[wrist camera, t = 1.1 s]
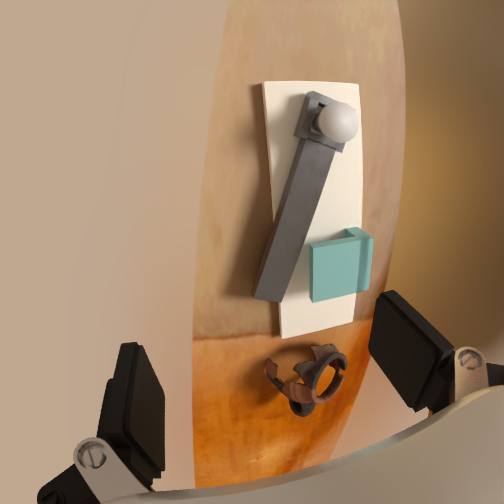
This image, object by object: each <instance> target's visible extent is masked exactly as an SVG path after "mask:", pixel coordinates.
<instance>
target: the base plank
mask: <svg viewBox="0 0 504 504" xmlns="http://www.w3.org/2000/svg"><path fill="white" fill-rule="evenodd" d="M261 84H262V94H263V104H264V115H265V125H266V136H267V148H268V160H269V172H270V184H271V197H272V211H273V222H274V219H275V216H276V213H277V210H278V206H279V203H280V200H281V197H282V194H283V191H284V188H285V185H286V182H287V179H288V175H289V172H290V169H291V166H292V163H293V160H294V157H295V153H296V150H297V147H298V144H299V141H300V138H297V137H295V136H293V135H294V132H295V129H296V126H297V122H298V119H299V116H300V113H301V110H302V106H303V103H304V100H305V97H306V94H307V92H310V91H315V92H318V93H320V94H322V95H325V96H327V97H329V98H332V99H334V100H336V101H338V102H334V103H330V104H328V105H326V106H325V107H324V108H323V107H321V106H318V107H317V110H316V113H315V116H314V120H313V123H312V126H311V129H310V131H311V132H314V133H316V134H319V135H321V136H324V137H327V138H328V139H329V140H331V141H334V142H340V143H343V142H346V143H345V146H344V149H343V152H342V153H340V152H335V154H334V157H333V160H332V163H331V167H330V170H329V173H328V176H327V179H326V182H325V185H324V188H323V190H322V193H321V196H320V199H319V202H318V205H317V208H316V211H315V214H314V216H313V219H312V222H311V225H310V228H309V230H308V233H307V236H306V239H305V242H304V244H303V247H302V250H301V252H300V255H299V258H298V260H297V263H296V266H295V268H294V271H293V274H292V276H291V279H290V282H289V284H288V287H287V289H286V292H285V294H284V297H283V300H282V302H281V303H280V302H278V305H279V325H280V335H281V338H282V339H285V338H289V337H294V336H298V335H302V334H306V333H311V332H315V331H319V330H323V329H327V328H331V327H334V326H338V325H342V324H346V323H349V322H353V314H354V306H355V298H356V293H354V294H349V295H345V296H341V297H337V298H333V299H328V300H324V301H320V302H315V303H312V301H311V300H310V298H309V244H312V243H318V242H324V241H330V240H336V239H342V238H345V228H351V227H359V228H360V229H361V222H362V179H363V173H362V130H361V112H360V98H359V86H358V84H351V83H338V82H317V81H269V82H263V83H261ZM354 109H355V110H354Z"/></svg>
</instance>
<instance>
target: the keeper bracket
mask: <svg viewBox="0 0 504 504" xmlns="http://www.w3.org/2000/svg"><path fill="white" fill-rule="evenodd" d="M373 239H374V238H373V237H372V236H370V235H369V234H367V233H366V232H365V231H363V230H362V229H360V228H359V227H351V228H345V238H342V239H336V240H330V241H324V242H318V243H312V244H309V298H310V300H311V301H312V303H315V302H320V301H324V300H328V299H333V298H337V297H341V296H345V295H349V294H354V293H358V292H362V291H366V290H368V288H369V280H370V271H371V261H372V251H373Z"/></svg>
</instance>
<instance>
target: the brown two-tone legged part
mask: <svg viewBox="0 0 504 504" xmlns="http://www.w3.org/2000/svg"><path fill="white" fill-rule="evenodd" d="M310 349H311V350H312V352H313V356H314V359H315V361H306V362H303V363H298V364H296V365H295V366H294V367H293V370H294V371H296V372H297V373H299V376H300V377H301V378H302V380H303V381H304V383H305V384H301V383H296V382H294V381H285V383H283V381H282V380H281V379H277V378H276V373H277V367H278V365H277V364H276V363H274V362H272V360H271V359H269V358H268V359H267V361H266V374H267V376H268V378H269V379H270V380H271V381H272V382H273V383H274V384H275V385H276V386H277V387H278V389H279V390H280V391H281V392H282V393H283V394H284V395H285V396H286V397H287V398H289V404H290V407H291V409H292V411H293V412H294V414H296V415H298V416H300V417H306V416H307V415H309V414H311V413H312V411H313V409H314V407H315V404H323V403H325V402H327V401H329V400H330V399H331V398H332V397H333V396H334V395H335V394H336V393H337V391H338V390H339V388H340V386H341V385H342V383H343V381H344V378H345V377H344V376H343V375H341V374H340V371H341V369H342V370H346V367H347V359H346V356H345V355H344V354H342V353H339V351H338V349H337V348H336V346H335V345H333V344H325V345H323V346H320V347H317V346H310ZM328 364H329V366H331V367H333V368H334V369H335V370H336V372H335V375H334V377H333V380H332V382H331V384H330V385H329V386H328V387H327V389H326V390H325V391H324V392H323V393H322V394H321V395H320V396H317V395H316V386H317V382H318V379H319V377H320V375H321V373H322V372H323V370H324V368H325V367H326V366H327V365H328Z"/></svg>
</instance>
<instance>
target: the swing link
mask: <svg viewBox="0 0 504 504" xmlns="http://www.w3.org/2000/svg"><path fill="white" fill-rule="evenodd" d="M334 102H338V101H336V100H334V99H332V98H329V97H327V96H325V95H322V94H320V93H318V92H315V91H310V92H307V94H306V97H305V100H304V103H303V106H302V110H301V113H300V116H299V119H298V122H297V126H296V129H295V132H294V135H293V136H295V137H297V138H300V141H299V144H298V147H297V150H296V153H295V157H294V160H293V163H292V166H291V169H290V172H289V175H288V179H287V182H286V185H285V188H284V191H283V194H282V197H281V200H280V203H279V206H278V210H277V213H276V216H275V219H274V222H273V225H272V228H271V231H270V234H269V237H268V240H267V243H266V246H265V249H264V253H263V256H262V259H261V262H260V265H259V268H258V271H257V274H256V277H255V280H254V283H253V286H252V289H251V293H252V296H253V298H254V299H259V300H266V301H273V302H280V303H281V302H282V300H283V297H284V294H285V292H286V289H287V287H288V284H289V282H290V279H291V276H292V274H293V271H294V268H295V266H296V263H297V260H298V258H299V255H300V252H301V250H302V247H303V244H304V242H305V239H306V236H307V233H308V230H309V228H310V225H311V222H312V219H313V216H314V214H315V211H316V208H317V205H318V202H319V199H320V196H321V193H322V190H323V188H324V185H325V182H326V179H327V176H328V173H329V170H330V167H331V163H332V160H333V157H334V154H335V152H340V153H342V152H343V149H344V146H345V143H346V142H343V143H340V142H334V141H331V140H329V139H328V138H327V137H324V136H321V135H319V134H316V133H314V132H311V131H310V129H311V126H312V123H313V120H314V116H315V113H316V110H317V107H318V106H321V107H323V108H324V107H325V106H326V105H328V104H330V103H334ZM354 110H355V109H354Z"/></svg>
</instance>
